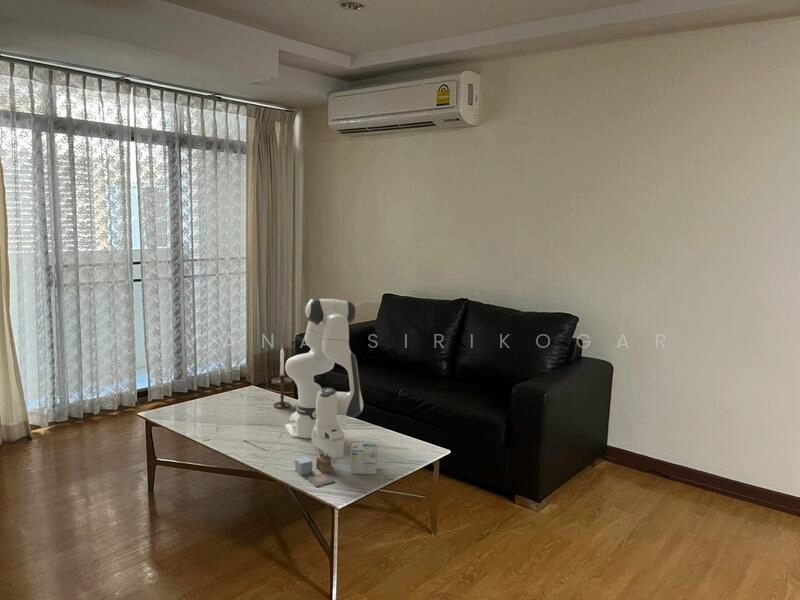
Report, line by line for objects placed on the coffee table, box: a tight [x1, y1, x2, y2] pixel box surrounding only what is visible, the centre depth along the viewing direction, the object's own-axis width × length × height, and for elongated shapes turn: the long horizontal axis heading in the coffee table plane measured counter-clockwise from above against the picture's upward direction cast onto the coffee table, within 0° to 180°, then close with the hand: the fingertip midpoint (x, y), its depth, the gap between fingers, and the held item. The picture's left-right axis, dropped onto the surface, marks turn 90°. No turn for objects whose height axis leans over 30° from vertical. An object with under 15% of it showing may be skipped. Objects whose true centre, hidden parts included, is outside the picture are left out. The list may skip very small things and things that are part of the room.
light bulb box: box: [350, 442, 378, 475], centre depth 236 cm, size 11×7×11 cm, turn 92°
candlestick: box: [271, 342, 293, 410], centre depth 310 cm, size 11×11×35 cm
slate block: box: [294, 456, 313, 476], centre depth 234 cm, size 5×5×5 cm
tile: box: [306, 473, 336, 488], centre depth 227 cm, size 8×8×1 cm
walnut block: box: [316, 454, 334, 474], centre depth 236 cm, size 5×5×5 cm
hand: (326, 461), depth 236 cm, fingers open, 8 cm apart
